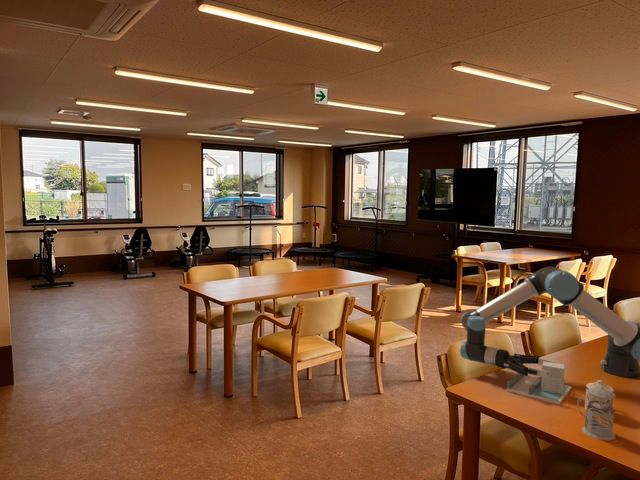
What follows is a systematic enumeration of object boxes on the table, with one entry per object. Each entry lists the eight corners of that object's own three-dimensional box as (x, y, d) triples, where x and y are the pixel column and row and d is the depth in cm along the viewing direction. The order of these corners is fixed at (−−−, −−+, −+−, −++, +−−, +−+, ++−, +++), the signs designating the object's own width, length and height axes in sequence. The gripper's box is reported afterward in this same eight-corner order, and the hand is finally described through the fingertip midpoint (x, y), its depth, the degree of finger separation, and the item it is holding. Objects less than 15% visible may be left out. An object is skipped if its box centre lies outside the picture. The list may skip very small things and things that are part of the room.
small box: (563, 389, 193) (565, 364, 192) (563, 394, 188) (564, 368, 187) (541, 385, 197) (542, 360, 196) (540, 390, 192) (542, 364, 191)
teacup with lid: (608, 419, 170) (610, 387, 169) (580, 411, 177) (582, 380, 176) (618, 409, 179) (620, 379, 177) (591, 401, 185) (593, 372, 184)
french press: (619, 442, 155) (625, 366, 152) (579, 436, 158) (584, 362, 156) (610, 428, 164) (616, 356, 162) (573, 423, 167) (578, 352, 165)
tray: (571, 388, 197) (571, 380, 197) (559, 404, 182) (559, 395, 181) (521, 376, 209) (522, 368, 209) (506, 390, 194) (506, 382, 194)
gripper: (506, 358, 215) (558, 370, 202) (486, 374, 196) (542, 388, 183) (507, 342, 215) (559, 352, 201) (487, 356, 195) (543, 369, 182)
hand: (551, 369), depth 192 cm, fingers open, 13 cm apart
